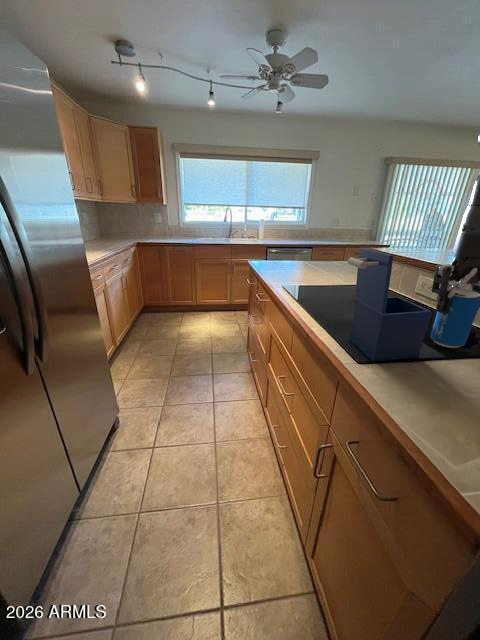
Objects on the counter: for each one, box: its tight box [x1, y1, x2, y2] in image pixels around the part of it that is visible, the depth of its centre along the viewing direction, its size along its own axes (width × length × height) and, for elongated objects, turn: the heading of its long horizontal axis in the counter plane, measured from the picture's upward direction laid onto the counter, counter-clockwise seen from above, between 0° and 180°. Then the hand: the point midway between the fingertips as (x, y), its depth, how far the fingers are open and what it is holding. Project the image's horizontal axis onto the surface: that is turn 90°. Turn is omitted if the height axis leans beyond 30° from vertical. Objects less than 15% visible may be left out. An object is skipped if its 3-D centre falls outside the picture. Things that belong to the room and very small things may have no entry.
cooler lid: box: [347, 247, 394, 313], centre depth 68 cm, size 14×13×6 cm
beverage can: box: [429, 288, 480, 349], centre depth 57 cm, size 6×6×12 cm
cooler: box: [349, 295, 433, 363], centre depth 75 cm, size 14×13×14 cm
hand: (456, 311), depth 57 cm, fingers closed on beverage can, 6 cm apart
